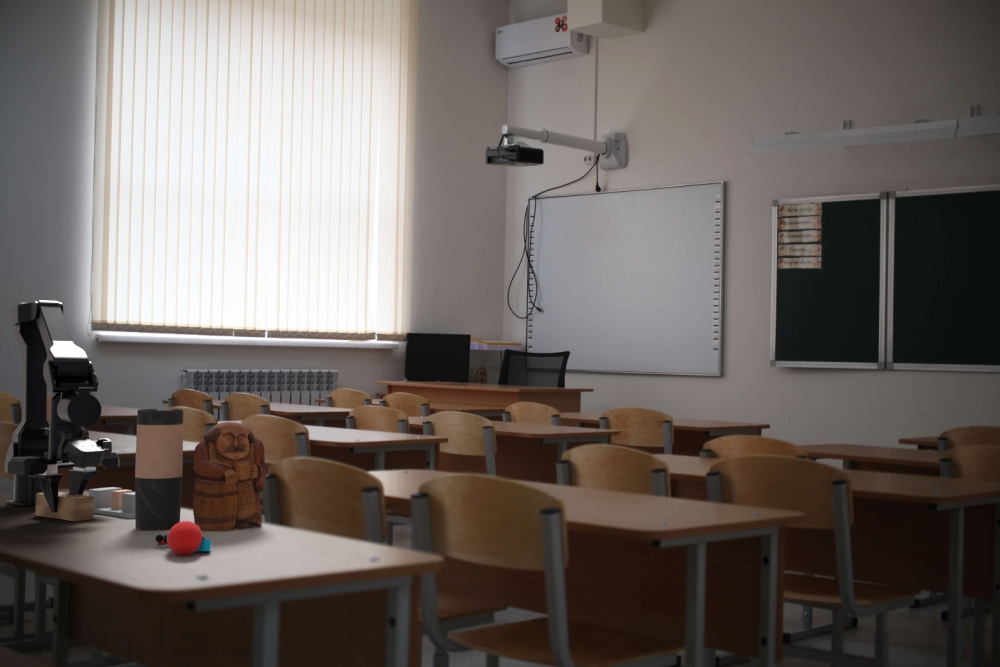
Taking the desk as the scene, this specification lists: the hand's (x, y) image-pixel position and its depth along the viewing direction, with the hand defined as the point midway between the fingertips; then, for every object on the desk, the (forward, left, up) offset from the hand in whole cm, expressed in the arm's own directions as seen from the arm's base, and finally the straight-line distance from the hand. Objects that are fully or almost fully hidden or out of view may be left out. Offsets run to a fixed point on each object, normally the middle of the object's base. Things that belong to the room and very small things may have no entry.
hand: (64, 511), depth 177 cm
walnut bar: (0, 0, -1) cm, 1 cm away
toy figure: (+42, -8, -2) cm, 43 cm away
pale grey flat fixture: (+2, +11, -1) cm, 11 cm away
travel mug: (+22, +3, -1) cm, 22 cm away
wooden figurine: (+32, +10, -1) cm, 34 cm away
